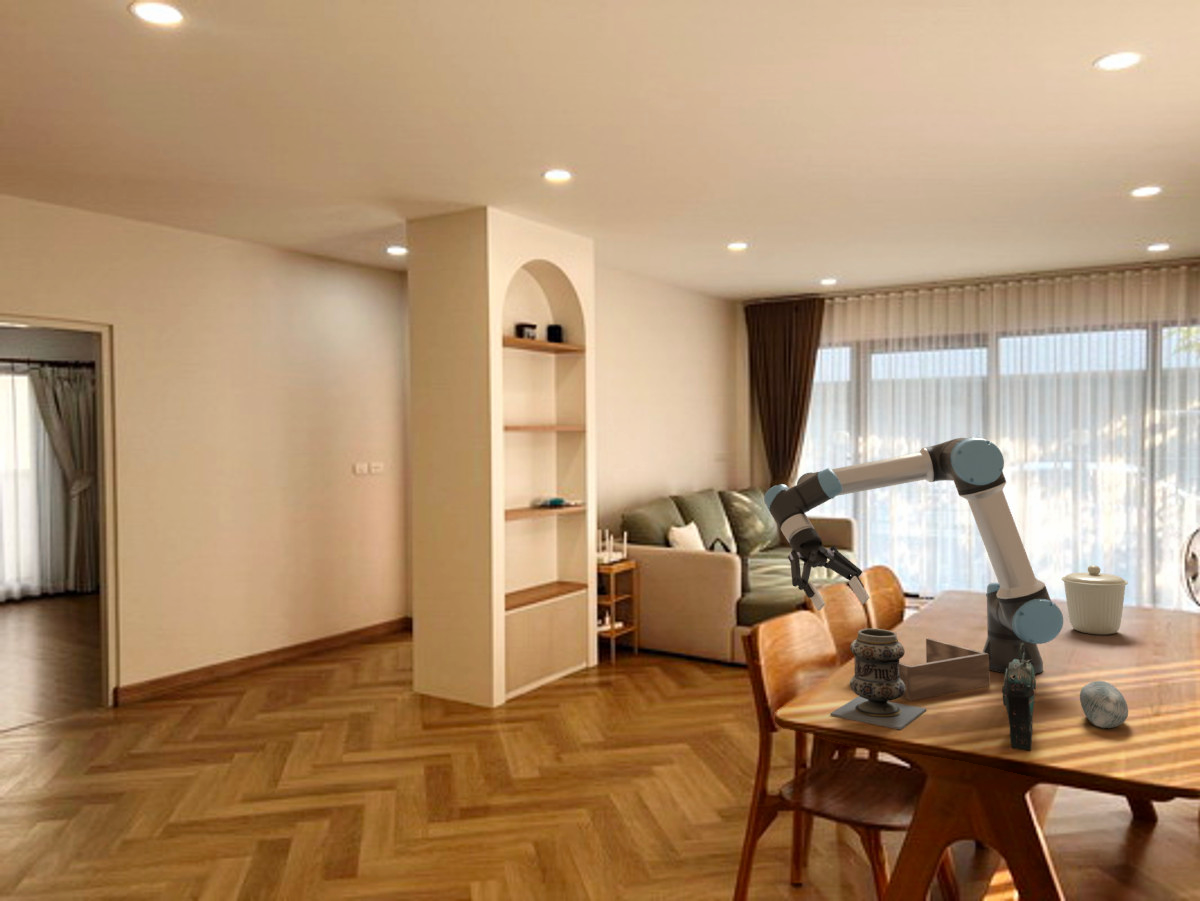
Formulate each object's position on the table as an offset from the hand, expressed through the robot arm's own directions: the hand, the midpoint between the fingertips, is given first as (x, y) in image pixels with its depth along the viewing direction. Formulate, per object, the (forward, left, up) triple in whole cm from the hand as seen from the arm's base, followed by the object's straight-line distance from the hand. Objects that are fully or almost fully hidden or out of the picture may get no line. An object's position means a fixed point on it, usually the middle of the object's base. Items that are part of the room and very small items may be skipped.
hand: (844, 604), depth 199 cm
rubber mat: (-10, +4, -23) cm, 26 cm away
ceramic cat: (-39, +1, -23) cm, 45 cm away
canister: (-34, -114, -23) cm, 121 cm away
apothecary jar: (-10, +4, -23) cm, 25 cm away
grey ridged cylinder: (-51, -19, -23) cm, 59 cm away
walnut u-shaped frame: (-10, -25, -23) cm, 35 cm away
